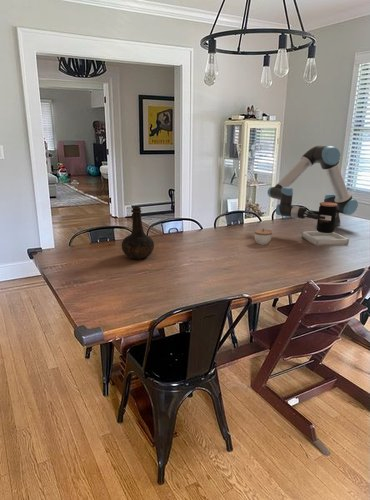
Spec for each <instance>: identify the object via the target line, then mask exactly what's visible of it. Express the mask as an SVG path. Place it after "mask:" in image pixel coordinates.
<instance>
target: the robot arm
mask: <svg viewBox="0 0 370 500" xmlns="http://www.w3.org/2000/svg"><path fill="white" fill-rule="evenodd" d="M340 157H341V151H340V150H339V148H338V147H336V146H332V145H327V146H326V145H315V146H313V147H311V148H310V149H308V150H307V151H306V152H305V153H304V154H302V156H300V159H299V161H298V162H297V163H296V164H295V165H294V166H293V167H292V169H290V170H289V171H288V172H287V173H286V174H285V175H284V177H283V176H282V177H283V178H281V179H280V180H279V182H277V184H275V186H271V187H269V188H268V190H267V196H268V197H270V198H271V199H275V200H279V203H278V204H277V205H276V207H275V214H276V215H277V216H281V217H289V218H293V219H302V220H303V219H306V218H309V219H313V220H315V221H316V220H317V221H318V220H320V219H322V220H329V221H331V216H326V215H318V213H319V210H313V209H310V210H308V209H307V207H306V206H305V207H304V206H297V205H292V204H293V203H292V202H293V195H294V193H293V192H294V189H293V187H291V186H292V184H293V183H295V182H296V180H297V179H299V177H300V176H301V175H302V174H303V173H304V172H305V171H307V170H308V169H309V168H312V166H313V165H315V164H320V167H321V169H322V170H324V172H325V173H326V176H327V179H328V181H329V183H330V186H331V187H330V188H331V189H332V191H333V193H327V194H325V195H324V199H323V202H330V203H336V204H337V212H336V220H335V227H338V226H341V218H340V214H343V215H346V216H352V215H353V214H354V213H355V212H356V211H357V209H358V207H359V203H358V200H357V199H355V198H353V196H352V193H350V192H348V190H347V189H348V188H347V186H346V184H345V181H344V178H343V175H342V172H341V170H340V168H339V163H340V160H341V158H340Z"/></svg>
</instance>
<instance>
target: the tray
mask: <svg viewBox="0 0 370 500" xmlns="http://www.w3.org/2000/svg"><path fill="white" fill-rule="evenodd" d="M301 238H303V239H304V240H307V241H308V242H310V243H311V244H312V245H314V246H316V247H319V246H321V247H323V246H345V245H346V246H347V245H349V242H350V239H349V238H348V237H345V236H343V235H341V234H339V233H337V232H335V231H333V232H332V233H321V232H318V231H314V230H313V231H302V232H301Z"/></svg>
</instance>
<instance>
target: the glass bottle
mask: <svg viewBox="0 0 370 500" xmlns="http://www.w3.org/2000/svg"><path fill="white" fill-rule="evenodd" d="M131 209H132V210H131V211H130V212H131V213H132V227H131V228H132V229H131V234H129V235H127V236H126V237H124V238H123V240H122V242H121V250H122V252H123V253H124V254H125V256H126V257H128V258H129V259H132V258H133V260H141V259H142V258H143V259H146V258H147V257H149V256H151V254H152V253H153V251H154V249H155V243H154V240H153V239H152V237H151V236H149V235H147V234H146V233H145V231H144V227H143V222H142V214H141V213H142V210H141V209H142V207H141V206H132V208H131ZM143 259H142V260H143Z"/></svg>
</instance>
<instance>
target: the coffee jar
mask: <svg viewBox="0 0 370 500" xmlns="http://www.w3.org/2000/svg"><path fill="white" fill-rule="evenodd" d="M318 211H319V213H318V215H326V216H331V221H329V220H322V219H320V220H318V219H317V221H316V230H317V231H318V232H321V233H332V232H335V227H336V226H335V220H336V212H337V204H336V203H330V202H324V201H323V202H322V201H321V202H319V207H318Z"/></svg>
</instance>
